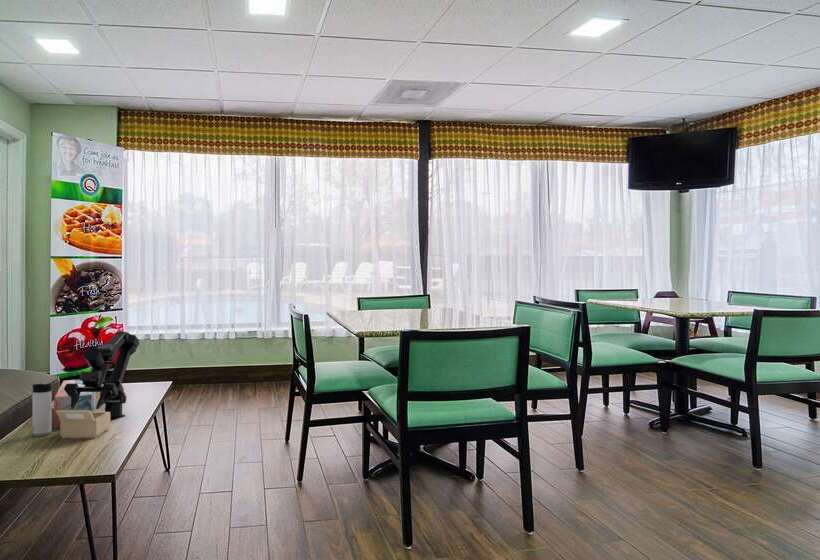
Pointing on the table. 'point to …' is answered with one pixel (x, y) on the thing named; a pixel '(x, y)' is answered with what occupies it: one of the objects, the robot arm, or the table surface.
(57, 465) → the table surface
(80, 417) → the carton flap
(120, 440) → the table surface
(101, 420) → the carton
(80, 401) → the soda box
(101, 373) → the robot arm
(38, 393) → the travel mug
